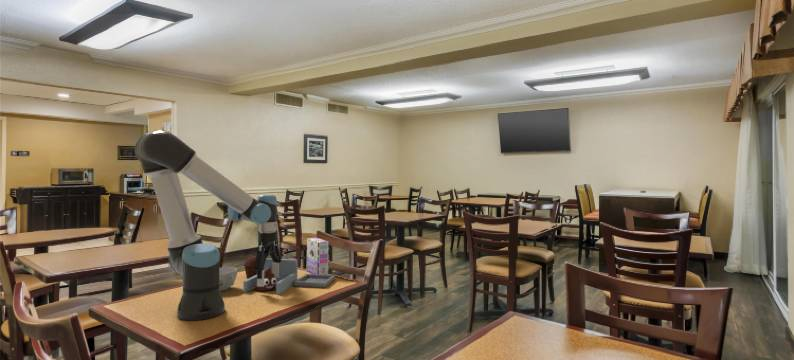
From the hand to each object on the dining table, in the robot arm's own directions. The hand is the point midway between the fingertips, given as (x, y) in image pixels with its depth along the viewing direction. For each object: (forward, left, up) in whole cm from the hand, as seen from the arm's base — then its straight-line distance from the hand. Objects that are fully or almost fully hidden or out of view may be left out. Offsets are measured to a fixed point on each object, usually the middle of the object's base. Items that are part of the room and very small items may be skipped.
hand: (268, 281), depth 178 cm
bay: (+3, 0, -3) cm, 4 cm away
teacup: (-4, +18, -3) cm, 19 cm away
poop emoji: (0, 0, -3) cm, 3 cm away
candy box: (+30, -11, -3) cm, 32 cm away
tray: (+13, -16, -3) cm, 21 cm away
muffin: (+17, +14, -3) cm, 22 cm away
